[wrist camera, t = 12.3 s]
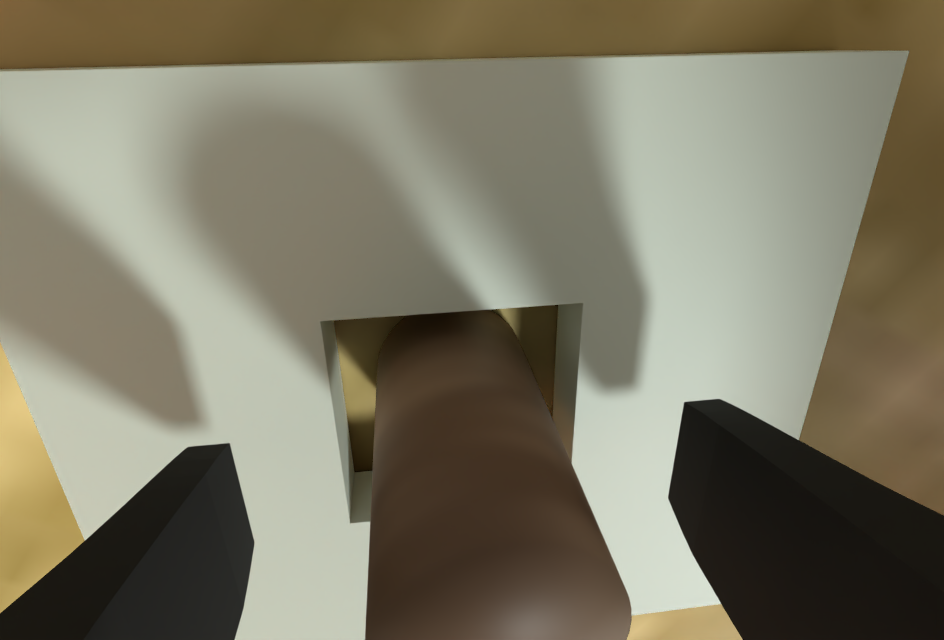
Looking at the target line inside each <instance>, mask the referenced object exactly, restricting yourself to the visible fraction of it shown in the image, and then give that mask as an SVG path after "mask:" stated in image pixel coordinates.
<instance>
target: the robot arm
mask: <svg viewBox="0 0 944 640" xmlns="http://www.w3.org/2000/svg"><path fill="white" fill-rule="evenodd" d="M668 500H669V502H670V504H671V507H672V509H673V511H674V514H675V516H676V519H677V521H678V523H679V526H680V528H681V530H682V533H683V535H684V537H685V539H686V541H687V544H688V546H689V548H690V550H691V552H692V555H693V556H694V558H695V560H696V562H697V563H698V565H699V567H700V569H701V570H702V572H703V574H704V575H705V577H706V579H707V580H708V582H709V584H710V586H711V587H712V589H713V591H714V592H715V594H716V596H717V597H718V599H719V601H720V602H721V604H722V606H723V607H724V609H725V611H726V612H727V614H728V616H729V617H730V619H731V621H732V622H733V624H734V626H735V627H736V629H737V631H738V632H739V634H740V636H741V637H742V639H743V640H944V516H943V515H941V514H939V513H937V512H935V511H933V510H931V509H929V508H927V507H925V506H923V505H921V504H919V503H917V502H915V501H913V500H911V499H909V498H907V497H905V496H903V495H901V494H899V493H896V492H894V491H893V490H891V489H889V488H887V487H885V486H883V485H881V484H879V483H877V482H875V481H873V480H871V479H869V478H867V477H866V476H864V475H862V474H860V473H858V472H856V471H854V470H852V469H850V468H849V467H847V466H845V465H843V464H841V463H839V462H838V461H836V460H834V459H832V458H830V457H828V456H826V455H825V454H823V453H821V452H819V451H817V450H816V449H814V448H812V447H810V446H808V445H806V444H805V443H803V442H801V441H799V440H797V439H796V438H794V437H792V436H790V435H788V434H787V433H785V432H783V431H781V430H779V429H777V428H776V427H774V426H772V425H770V424H768V423H767V422H765V421H763V420H761V419H759V418H757V417H755V416H753V415H752V414H750V413H748V412H746V411H744V410H742V409H740V408H738V407H736V406H734V405H732V404H730V403H728V402H726V401H723V400H721V399H711V400H700V401H689V402H684V406H683V412H682V418H681V423H680V429H679V435H678V441H677V447H676V453H675V459H674V464H673V470H672V476H671V482H670V488H669V494H668ZM254 544H255V542H254V538H253V534H252V530H251V526H250V522H249V518H248V514H247V510H246V506H245V502H244V498H243V494H242V490H241V486H240V482H239V478H238V474H237V470H236V466H235V462H234V458H233V454H232V450H231V446H230V443H224V444H213V445H202V446H191V447H187V448H186V449H185V450H183V451H182V452H181V453H180V454H179V455H178V456H176V457H175V458H174V459H173V460H172V461H171V462H170V463H169V464H168V465H166V466H165V467H164V468H163V469H162V470H161V471H160V472H159V473H158V474H157V475H156V476H155V477H153V478H152V479H151V480H150V481H149V482H148V483H147V484H146V485H145V486H144V487H143V488H142V489H141V490H140V491H139V492H137V493H136V494H135V495H134V496H133V497H132V498H131V499H130V500H129V501H128V502H127V503H126V504H125V505H124V506H122V507H121V508H120V509H119V510H118V511H117V512H116V513H115V514H114V515H113V516H111V517H110V518H109V519H108V520H107V521H106V522H105V523H104V524H103V525H102V526H101V527H99V528H98V529H97V530H96V531H95V532H94V533H93V534H92V535H91V536H90V537H88V538H87V539H86V540H85V541H84V542H83V543H82V544H81V545H80V546H79V547H77V548H76V549H75V550H74V551H73V552H72V553H71V554H70V555H69V556H67V557H66V558H65V559H64V560H63V561H61V562H60V563H59V564H58V565H57V566H56V567H54V568H53V569H52V570H51V571H50V572H49V573H47V574H46V575H45V576H44V577H43V578H41V579H40V580H39V581H38V582H37V583H36V584H34V585H33V586H32V587H31V588H30V589H28V590H27V591H26V592H25V593H24V594H23V595H21V596H20V597H19V598H18V599H17V600H16V601H14V602H13V603H12V604H11V605H10V606H8V607H7V608H6V609H5V610H4V611H3V612H1V613H0V640H235V636H236V633H237V630H238V626H239V623H240V619H241V616H242V612H243V608H244V603H245V597H246V592H247V587H248V581H249V575H250V569H251V563H252V556H253V550H254Z"/></svg>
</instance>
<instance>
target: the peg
mask: <svg viewBox="0 0 944 640" xmlns="http://www.w3.org/2000/svg"><path fill="white" fill-rule="evenodd" d="M631 613H632V609H631V604H630V599H629V596H628V593H627V591H626V589H625V586H624V584H623V581H622V579H621V577H620V575H619V572H618V570H617V568H616V565H615V563H614V561H613V558H612V556H611V554H610V551H609V549H608V547H607V544H606V542H605V540H604V537H603V535H602V533H601V530H600V528H599V526H598V524H597V521H596V519H595V517H594V514H593V512H592V510H591V507H590V505H589V503H588V500H587V498H586V496H585V493H584V491H583V489H582V486H581V484H580V482H579V479H578V477H577V475H576V473H575V470H574V468H573V466H572V463H571V461H570V459H569V456H568V454H567V452H566V449H565V447H564V445H563V442H562V440H561V438H560V435H559V433H558V431H557V428H556V426H555V424H554V421H553V419H552V417H551V415H550V412H549V410H548V408H547V405H546V403H545V401H544V398H543V396H542V394H541V391H540V389H539V387H538V384H537V382H536V380H535V377H534V375H533V373H532V370H531V368H530V366H529V364H528V361H527V359H526V357H525V354H524V352H523V350H522V347H521V345H520V343H519V340H518V338H517V336H516V334H515V333H514V331H513V329H512V328H511V327H510V326H509V325H508V323H507V322H506V321H504V320H503V319H502V318H501V317H500V316H498V315H497V314H495V313H494V312H492V311H490V310H475V311H461V312H446V313H432V314H418V315H408V316H407V317H406V318H404V319H403V320H402V321H400V322H399V323H398V324H397V325H396V326H395V327H394V328H393V329H392V331H391V332H390V333H389V335H388V336H387V338H386V340H385V341H384V343H383V345H382V348H381V350H380V354H379V358H378V366H377V386H376V408H375V430H374V452H373V474H372V496H371V518H370V540H369V562H368V584H367V606H366V628H365V640H626V639H627V637H628V634H629V631H630V625H631Z"/></svg>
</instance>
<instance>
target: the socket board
mask: <svg viewBox="0 0 944 640" xmlns="http://www.w3.org/2000/svg"><path fill="white" fill-rule="evenodd" d="M908 54H909V51H873V50H832V51H787V52H743V53H698V54H654V55H610V56H565V57H521V58H477V59H432V60H388V61H344V62H299V63H255V64H211V65H166V66H122V67H78V68H33V69H0V342H1V345H2V347H3V349H4V352H5V354H6V356H7V359H8V361H9V363H10V366H11V368H12V370H13V373H14V375H15V377H16V380H17V382H18V385H19V387H20V389H21V392H22V394H23V396H24V399H25V401H26V403H27V406H28V408H29V410H30V413H31V415H32V417H33V420H34V422H35V424H36V427H37V429H38V432H39V434H40V436H41V439H42V441H43V443H44V446H45V448H46V450H47V453H48V455H49V457H50V460H51V462H52V464H53V467H54V469H55V471H56V474H57V476H58V479H59V481H60V483H61V486H62V488H63V490H64V493H65V495H66V497H67V500H68V502H69V504H70V507H71V509H72V511H73V514H74V516H75V518H76V521H77V523H78V525H79V528H80V530H81V533H82V535H83V537H84V540H86V539H87V538H88V537H90V536H91V535H92V534H93V533H94V532H95V531H96V530H97V529H98V528H99V527H101V526H102V525H103V524H104V523H105V522H106V521H107V520H108V519H109V518H110V517H111V516H113V515H114V514H115V513H116V512H117V511H118V510H119V509H120V508H121V507H122V506H124V505H125V504H126V503H127V502H128V501H129V500H130V499H131V498H132V497H133V496H134V495H135V494H136V493H137V492H139V491H140V490H141V489H142V488H143V487H144V486H145V485H146V484H147V483H148V482H149V481H150V480H151V479H152V478H153V477H155V476H156V475H157V474H158V473H159V472H160V471H161V470H162V469H163V468H164V467H165V466H166V465H168V464H169V463H170V462H171V461H172V460H173V459H174V458H175V457H176V456H178V455H179V454H180V453H181V452H182V451H183V450H185V449H186V448H187V447H191V446H202V445H213V444H224V443H230V446H231V450H232V454H233V458H234V462H235V466H236V470H237V474H238V478H239V482H240V486H241V490H242V494H243V498H244V502H245V506H246V510H247V514H248V518H249V522H250V526H251V530H252V534H253V538H254V542H255V544H254V550H253V556H252V563H251V569H250V575H249V581H248V587H247V592H246V597H245V603H244V608H243V612H242V616H241V619H240V623H239V626H238V630H237V633H236V636H235V640H365V628H366V606H367V584H368V562H369V540H370V518H371V496H372V474H373V471H365V472H354V465H353V457H352V450H351V443H350V435H349V428H348V421H347V413H346V406H345V399H344V392H343V384H342V377H341V370H340V362H339V355H338V348H337V340H336V333H335V326H334V320H346V319H360V318H375V317H389V316H403V315H418V314H432V313H446V312H461V311H475V310H489V309H504V308H518V307H532V306H547V305H558V320H557V339H556V358H555V378H554V397H553V416H552V419H553V421H554V424H555V426H556V428H557V431H558V433H559V435H560V438H561V440H562V442H563V445H564V447H565V449H566V452H567V454H568V456H569V459H570V461H571V463H572V466H573V468H574V470H575V473H576V475H577V477H578V479H579V482H580V484H581V486H582V489H583V491H584V493H585V496H586V498H587V500H588V503H589V505H590V507H591V510H592V512H593V514H594V517H595V519H596V521H597V524H598V526H599V528H600V530H601V533H602V535H603V537H604V540H605V542H606V544H607V547H608V549H609V551H610V554H611V556H612V558H613V561H614V563H615V565H616V568H617V570H618V572H619V575H620V577H621V579H622V581H623V584H624V586H625V589H626V591H627V593H628V596H629V599H630V604H631V609H632V613H631V616H632V615H639V614H647V613H655V612H662V611H670V610H678V609H685V608H693V607H701V606H708V605H716V604H721V602H720V601H719V599H718V597H717V596H716V594H715V592H714V591H713V589H712V587H711V586H710V584H709V582H708V580H707V579H706V577H705V575H704V574H703V572H702V570H701V569H700V567H699V565H698V563H697V562H696V560H695V558H694V556H693V555H692V552H691V550H690V548H689V546H688V544H687V541H686V539H685V537H684V535H683V533H682V530H681V528H680V526H679V523H678V521H677V519H676V516H675V514H674V511H673V509H672V507H671V504H670V502H669V500H668V494H669V488H670V482H671V476H672V470H673V464H674V459H675V453H676V447H677V441H678V435H679V429H680V423H681V418H682V412H683V406H684V402H689V401H700V400H711V399H721V400H723V401H726V402H728V403H730V404H732V405H734V406H736V407H738V408H740V409H742V410H744V411H746V412H748V413H750V414H752V415H753V416H755V417H757V418H759V419H761V420H763V421H765V422H767V423H768V424H770V425H772V426H774V427H776V428H777V429H779V430H781V431H783V432H785V433H787V434H788V435H790V436H792V437H794V438H796V439H797V440H799V438H800V434H801V431H802V427H803V424H804V420H805V417H806V413H807V410H808V406H809V403H810V399H811V396H812V392H813V389H814V385H815V382H816V378H817V374H818V371H819V367H820V364H821V360H822V357H823V353H824V350H825V346H826V343H827V339H828V336H829V332H830V329H831V325H832V322H833V318H834V315H835V311H836V308H837V304H838V301H839V297H840V294H841V290H842V286H843V283H844V279H845V276H846V272H847V269H848V265H849V262H850V258H851V255H852V251H853V248H854V244H855V241H856V237H857V234H858V230H859V227H860V223H861V220H862V216H863V213H864V209H865V205H866V202H867V198H868V195H869V191H870V188H871V184H872V181H873V177H874V174H875V170H876V167H877V163H878V160H879V156H880V153H881V149H882V146H883V142H884V139H885V135H886V132H887V128H888V125H889V121H890V117H891V114H892V110H893V107H894V103H895V100H896V96H897V93H898V89H899V86H900V82H901V79H902V75H903V72H904V68H905V65H906V61H907V58H908Z"/></svg>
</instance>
